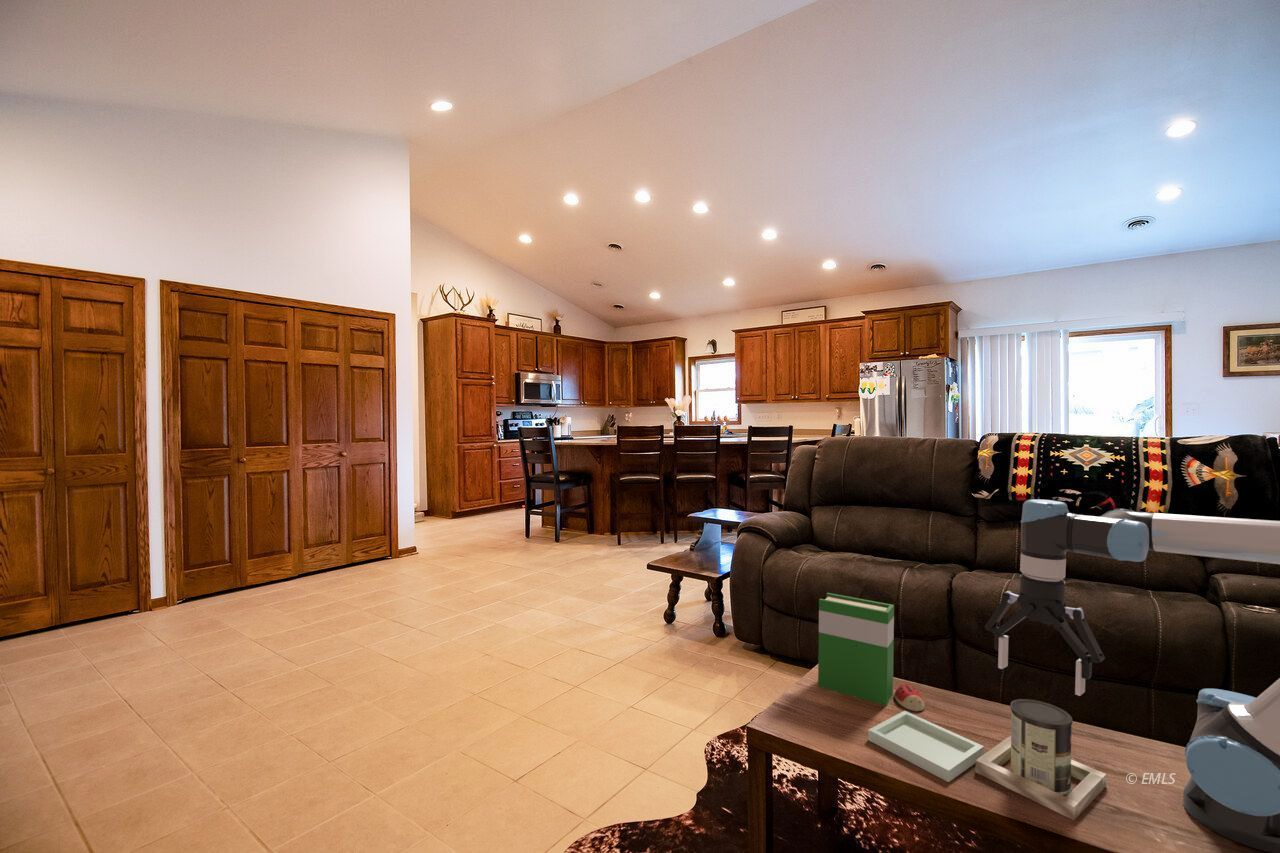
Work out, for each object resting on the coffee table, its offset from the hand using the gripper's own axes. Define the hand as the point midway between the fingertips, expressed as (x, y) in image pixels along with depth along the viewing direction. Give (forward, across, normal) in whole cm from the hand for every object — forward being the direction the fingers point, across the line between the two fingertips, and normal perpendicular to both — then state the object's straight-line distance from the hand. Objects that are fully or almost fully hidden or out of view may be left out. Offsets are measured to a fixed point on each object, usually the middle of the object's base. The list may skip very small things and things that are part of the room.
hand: (1039, 679), depth 114 cm
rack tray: (+20, +19, +9) cm, 29 cm away
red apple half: (+21, +32, -8) cm, 39 cm away
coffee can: (+21, 0, 0) cm, 21 cm away
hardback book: (+21, +44, -2) cm, 48 cm away
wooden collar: (+20, 0, 0) cm, 20 cm away
